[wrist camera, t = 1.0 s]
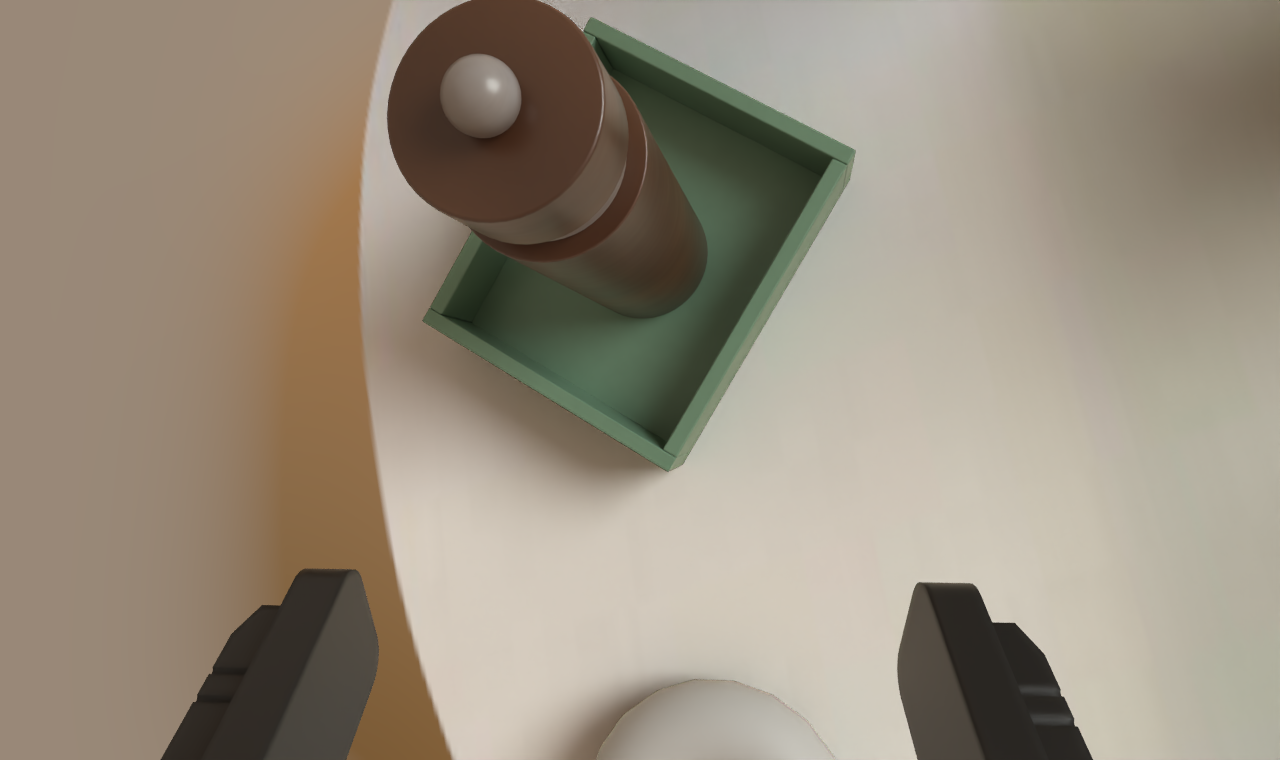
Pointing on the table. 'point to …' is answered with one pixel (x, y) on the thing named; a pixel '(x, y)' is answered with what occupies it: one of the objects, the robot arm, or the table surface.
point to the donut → (713, 726)
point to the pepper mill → (544, 156)
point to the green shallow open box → (722, 303)
